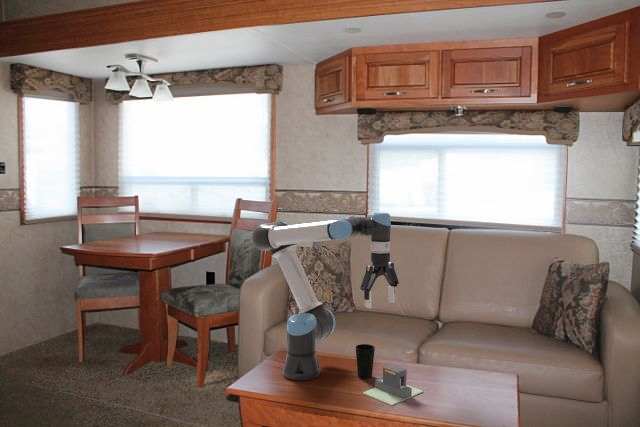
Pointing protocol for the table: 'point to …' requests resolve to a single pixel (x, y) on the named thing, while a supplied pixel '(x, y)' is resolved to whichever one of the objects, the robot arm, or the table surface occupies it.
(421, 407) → the table surface
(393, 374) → the plug block
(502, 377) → the table surface
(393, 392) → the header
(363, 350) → the cup
